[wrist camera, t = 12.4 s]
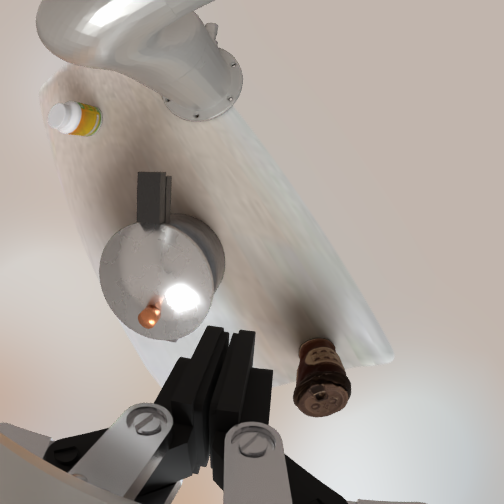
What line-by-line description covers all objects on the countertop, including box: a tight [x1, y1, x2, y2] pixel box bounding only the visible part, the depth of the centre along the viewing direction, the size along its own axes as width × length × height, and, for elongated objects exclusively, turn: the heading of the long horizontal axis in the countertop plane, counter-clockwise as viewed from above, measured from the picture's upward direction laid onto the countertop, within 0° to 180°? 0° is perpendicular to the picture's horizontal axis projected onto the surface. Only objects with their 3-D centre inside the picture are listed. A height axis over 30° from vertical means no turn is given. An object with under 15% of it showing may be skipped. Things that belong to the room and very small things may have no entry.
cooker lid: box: [99, 172, 214, 340], centre depth 35 cm, size 22×16×3 cm
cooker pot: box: [163, 176, 225, 342], centre depth 42 cm, size 23×15×10 cm, turn 176°
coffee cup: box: [293, 338, 351, 417], centre depth 43 cm, size 9×8×13 cm
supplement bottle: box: [48, 101, 102, 136], centre depth 38 cm, size 5×5×10 cm
